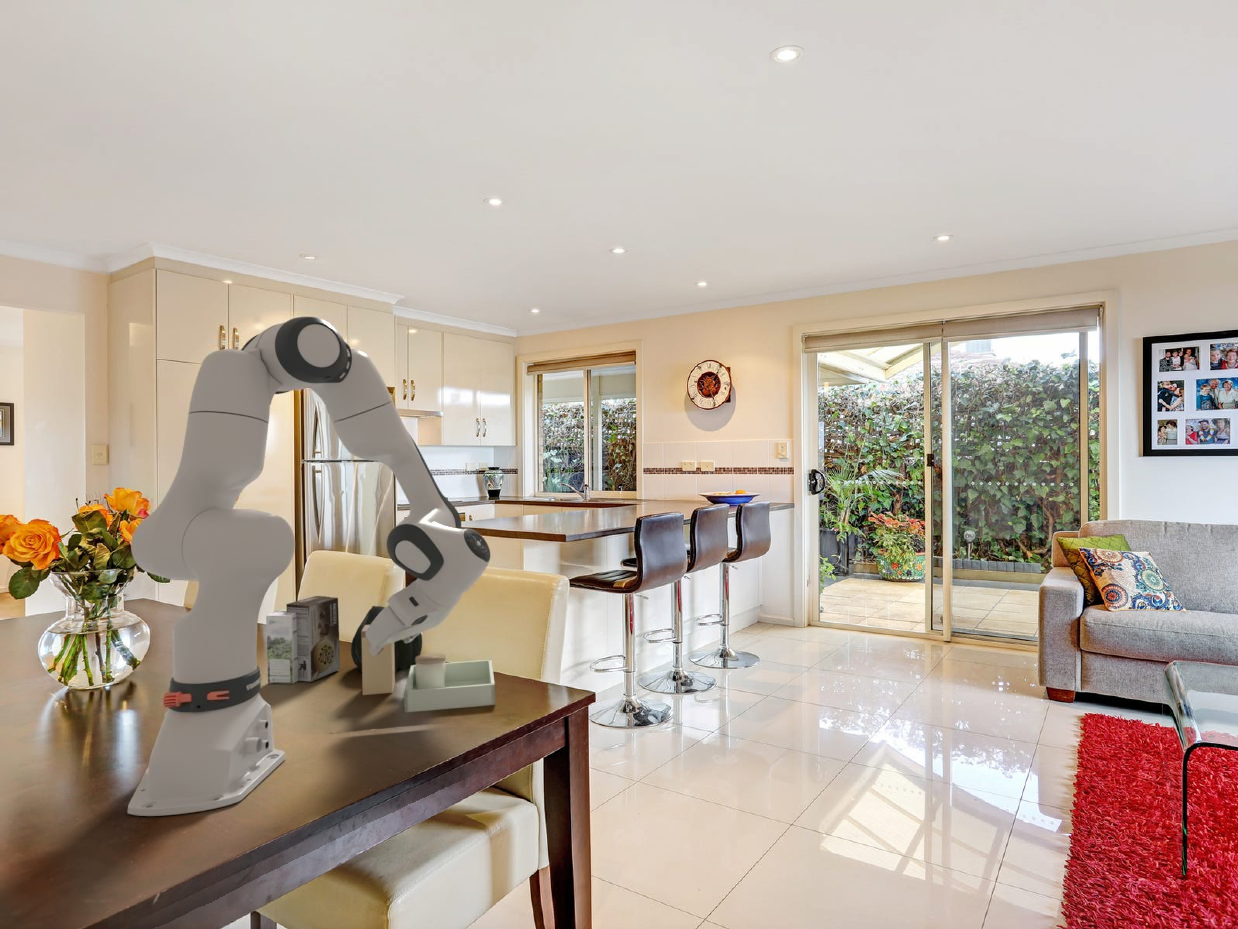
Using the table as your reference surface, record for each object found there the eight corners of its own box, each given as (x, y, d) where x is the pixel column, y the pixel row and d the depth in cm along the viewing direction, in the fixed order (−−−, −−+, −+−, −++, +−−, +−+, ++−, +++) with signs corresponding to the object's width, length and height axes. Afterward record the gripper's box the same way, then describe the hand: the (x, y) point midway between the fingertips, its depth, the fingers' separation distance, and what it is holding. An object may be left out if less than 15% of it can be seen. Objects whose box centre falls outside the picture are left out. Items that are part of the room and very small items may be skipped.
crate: (495, 709, 132) (494, 684, 132) (404, 716, 129) (404, 691, 129) (491, 681, 149) (491, 659, 149) (411, 687, 146) (411, 665, 146)
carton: (392, 696, 140) (391, 629, 140) (362, 699, 139) (361, 631, 139) (395, 687, 146) (394, 623, 146) (366, 690, 145) (365, 625, 145)
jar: (445, 691, 141) (445, 659, 141) (414, 693, 140) (414, 662, 139) (446, 682, 146) (445, 652, 146) (416, 684, 145) (416, 654, 145)
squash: (444, 643, 159) (411, 589, 164) (389, 663, 146) (355, 603, 151) (413, 678, 165) (383, 625, 170) (358, 700, 153) (326, 641, 158)
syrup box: (307, 676, 155) (306, 608, 155) (292, 684, 149) (291, 614, 149) (281, 676, 155) (280, 608, 155) (266, 684, 149) (265, 614, 149)
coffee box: (317, 667, 160) (315, 595, 160) (341, 670, 158) (339, 596, 158) (286, 679, 152) (284, 603, 152) (311, 682, 150) (309, 604, 150)
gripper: (452, 578, 148) (414, 622, 152) (384, 597, 129) (343, 646, 133) (470, 601, 147) (432, 645, 150) (405, 623, 128) (363, 673, 131)
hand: (389, 646), depth 142 cm, fingers open, 8 cm apart
